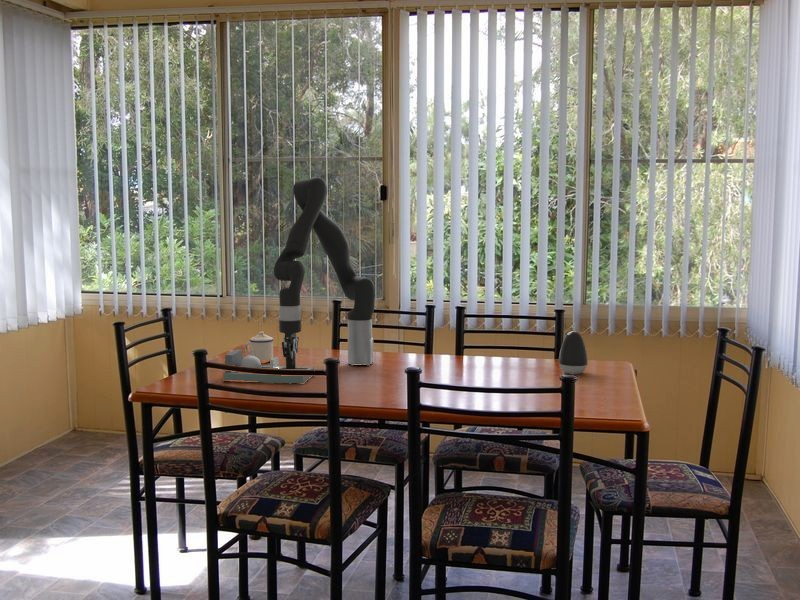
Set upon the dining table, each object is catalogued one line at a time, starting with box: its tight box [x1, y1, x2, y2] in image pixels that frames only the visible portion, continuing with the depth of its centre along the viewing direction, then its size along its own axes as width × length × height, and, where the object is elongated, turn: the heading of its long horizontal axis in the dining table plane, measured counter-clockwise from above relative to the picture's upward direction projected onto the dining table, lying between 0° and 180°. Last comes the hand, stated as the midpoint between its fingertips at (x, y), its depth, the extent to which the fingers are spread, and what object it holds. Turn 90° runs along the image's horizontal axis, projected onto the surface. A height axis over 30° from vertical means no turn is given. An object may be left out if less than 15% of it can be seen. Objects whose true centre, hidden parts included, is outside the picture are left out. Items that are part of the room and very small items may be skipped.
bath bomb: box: [239, 355, 263, 368], centre depth 289 cm, size 8×8×8 cm
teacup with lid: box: [243, 331, 274, 360], centre depth 321 cm, size 12×9×12 cm
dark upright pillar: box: [269, 346, 297, 369], centre depth 288 cm, size 8×6×11 cm
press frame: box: [222, 349, 315, 385], centre depth 288 cm, size 28×15×9 cm, turn 82°
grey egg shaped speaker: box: [558, 330, 589, 375], centre depth 298 cm, size 10×10×15 cm
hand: (290, 367), depth 287 cm, fingers closed on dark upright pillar, 3 cm apart
